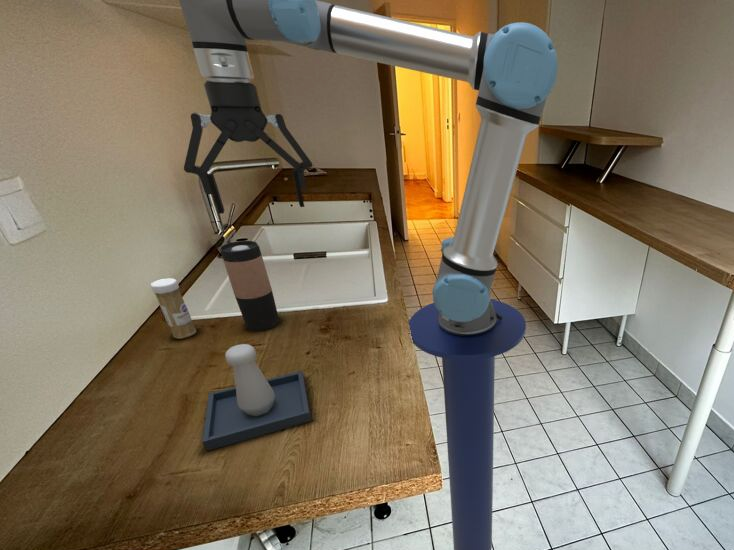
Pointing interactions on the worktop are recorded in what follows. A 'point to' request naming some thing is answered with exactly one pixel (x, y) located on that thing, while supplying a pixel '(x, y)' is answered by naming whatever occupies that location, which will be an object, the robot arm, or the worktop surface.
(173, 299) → the sprinkles bottle
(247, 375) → the salt shaker
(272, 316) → the travel mug
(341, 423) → the worktop surface
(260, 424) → the tray
